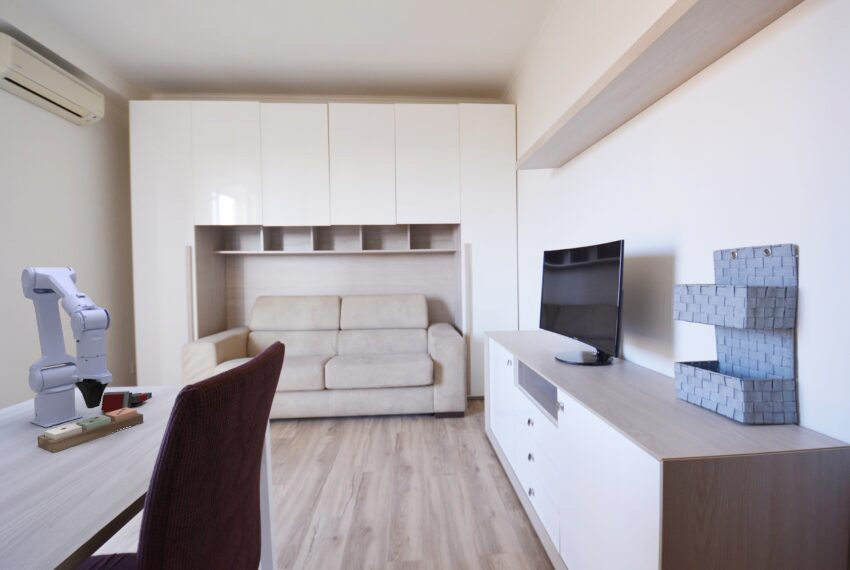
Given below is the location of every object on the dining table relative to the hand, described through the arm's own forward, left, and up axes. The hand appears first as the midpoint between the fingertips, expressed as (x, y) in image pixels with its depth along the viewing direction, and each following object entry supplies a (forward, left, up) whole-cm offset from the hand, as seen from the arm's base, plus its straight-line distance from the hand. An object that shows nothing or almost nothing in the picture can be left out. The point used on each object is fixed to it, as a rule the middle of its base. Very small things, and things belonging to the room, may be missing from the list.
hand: (93, 407), depth 94 cm
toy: (-15, +15, -8) cm, 23 cm away
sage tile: (0, 0, -7) cm, 7 cm away
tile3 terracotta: (0, +6, -7) cm, 9 cm away
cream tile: (0, -6, -7) cm, 9 cm away
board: (0, 0, -7) cm, 7 cm away
